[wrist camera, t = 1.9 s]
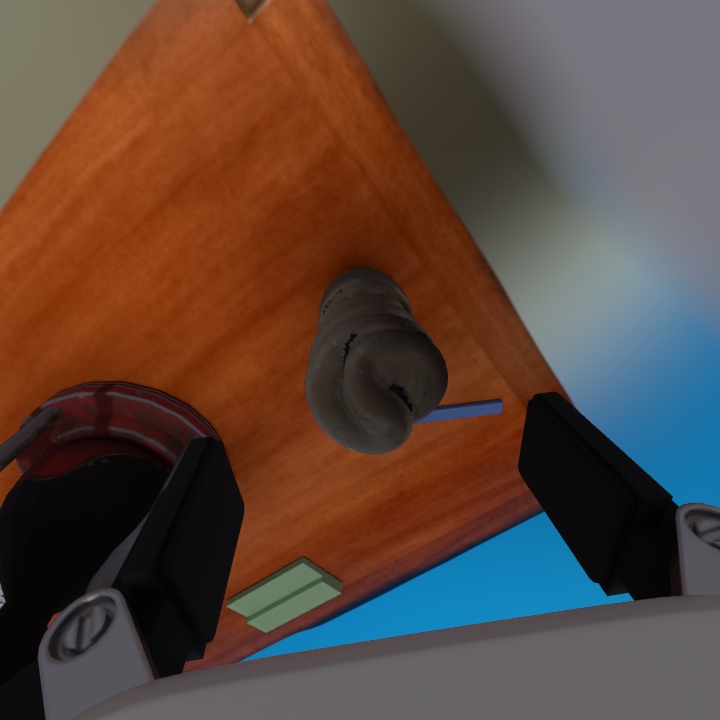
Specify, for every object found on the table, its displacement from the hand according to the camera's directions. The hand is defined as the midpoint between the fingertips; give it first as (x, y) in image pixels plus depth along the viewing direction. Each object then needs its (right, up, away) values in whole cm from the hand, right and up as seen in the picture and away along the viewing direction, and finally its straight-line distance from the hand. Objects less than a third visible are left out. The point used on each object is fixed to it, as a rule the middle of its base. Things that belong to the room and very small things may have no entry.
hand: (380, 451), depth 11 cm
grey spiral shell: (-1, +8, +15) cm, 17 cm away
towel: (-10, -25, +31) cm, 41 cm away
